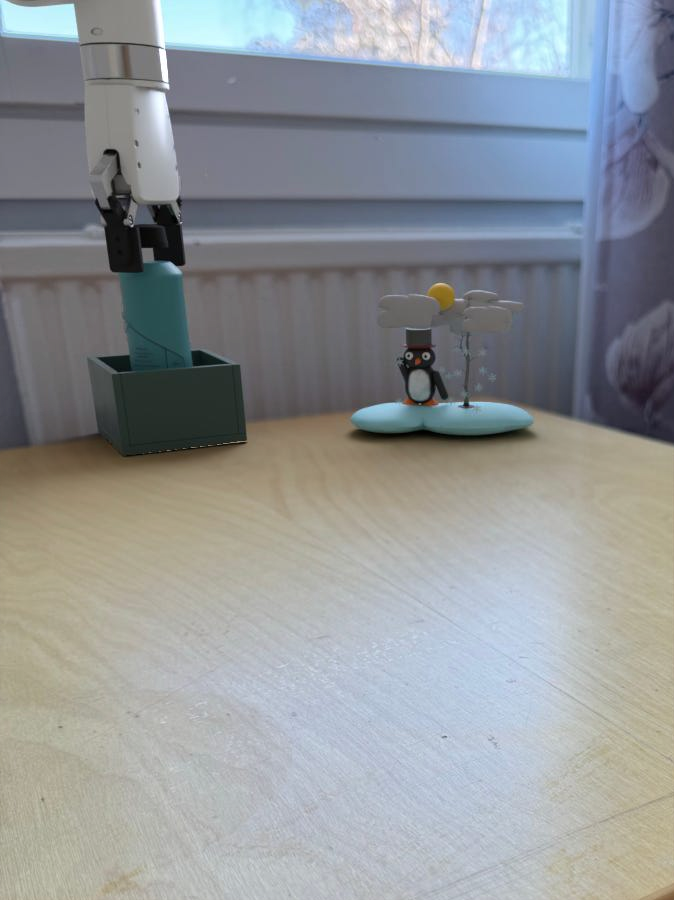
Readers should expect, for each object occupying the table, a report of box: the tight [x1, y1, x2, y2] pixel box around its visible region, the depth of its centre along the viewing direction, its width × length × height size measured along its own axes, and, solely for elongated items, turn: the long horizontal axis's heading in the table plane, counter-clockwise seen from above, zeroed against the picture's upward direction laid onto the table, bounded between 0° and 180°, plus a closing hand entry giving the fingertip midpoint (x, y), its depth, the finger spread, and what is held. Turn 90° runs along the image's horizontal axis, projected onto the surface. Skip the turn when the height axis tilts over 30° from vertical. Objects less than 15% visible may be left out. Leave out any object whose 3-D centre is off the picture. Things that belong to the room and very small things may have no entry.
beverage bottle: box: [117, 223, 194, 371], centre depth 102 cm, size 6×7×20 cm
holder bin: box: [86, 348, 248, 457], centre depth 105 cm, size 13×13×8 cm
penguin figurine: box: [350, 282, 535, 436], centre depth 107 cm, size 20×11×15 cm, turn 87°
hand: (149, 268), depth 99 cm, fingers open, 9 cm apart
